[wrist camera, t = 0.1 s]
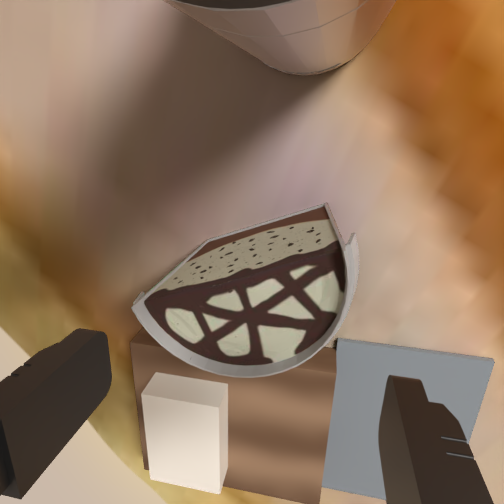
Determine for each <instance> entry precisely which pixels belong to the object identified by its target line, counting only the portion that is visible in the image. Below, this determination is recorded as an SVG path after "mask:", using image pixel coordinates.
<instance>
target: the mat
mask: <svg viewBox="0 0 504 504" xmlns="http://www.w3.org/2000/svg"><path fill="white" fill-rule="evenodd" d="M336 363H337V375H336V382H335V390H334V397H333V405H332V412H331V420H330V427H329V435H328V442H327V450H326V457H325V465H324V472H323V480H322V487H324V488H329V489H334V490H339V491H344V492H349V493H354V494H359V495H364V496H368V497H373V498H378V499H383V500H386V495H385V488H384V481H383V474H382V467H381V460H380V453H379V444H378V430H379V421H380V415H381V410H382V404H383V399H384V393H385V388H386V383H387V379H388V376H389V375H395V376H401V377H408V378H415V379H420V380H421V381H422V383H423V386H424V389H425V392H426V395H427V398H428V401H429V402H435V403H441V404H444V405H445V407H446V408H447V409H448V410H449V411H450V412H451V413H452V414H453V415H454V416H455V417H456V419H457V420H458V421H459V423H460V425H461V427H462V430H463V432H464V434H465V437H466V439H467V444H469V440H470V437H471V434H472V431H473V428H474V425H475V422H476V419H477V416H478V412H479V409H480V406H481V403H482V400H483V397H484V394H485V391H486V388H487V384H488V381H489V378H490V375H491V372H492V369H493V366H494V363H495V362H494V360H493V359H492V358H484V357H477V356H469V355H462V354H454V353H447V352H439V351H432V350H424V349H417V348H410V347H402V346H395V345H387V344H380V343H372V342H365V341H357V340H350V339H342V338H338V340H337V347H336Z"/></svg>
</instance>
